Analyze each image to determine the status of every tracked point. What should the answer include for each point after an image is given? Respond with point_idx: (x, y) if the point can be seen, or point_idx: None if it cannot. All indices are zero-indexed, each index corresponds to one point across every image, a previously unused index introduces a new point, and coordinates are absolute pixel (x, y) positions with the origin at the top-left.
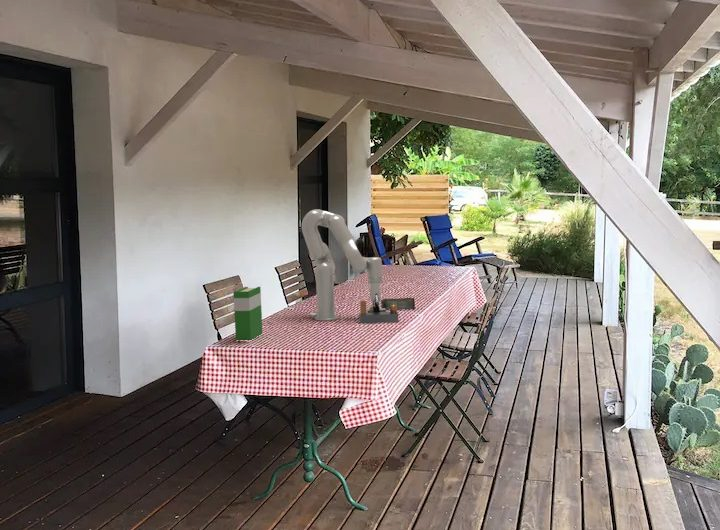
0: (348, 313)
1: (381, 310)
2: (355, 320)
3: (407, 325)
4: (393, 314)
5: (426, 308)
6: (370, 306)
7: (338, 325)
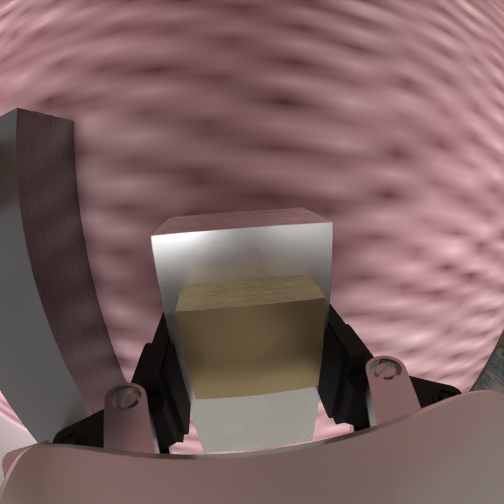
0: (497, 92)
1: (195, 416)
2: (151, 70)
3: (12, 420)
4: (38, 437)
5: None
6: (296, 321)
7: (5, 11)
